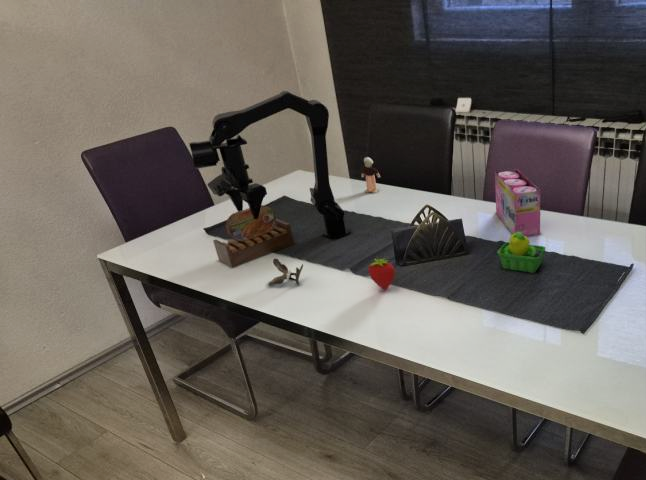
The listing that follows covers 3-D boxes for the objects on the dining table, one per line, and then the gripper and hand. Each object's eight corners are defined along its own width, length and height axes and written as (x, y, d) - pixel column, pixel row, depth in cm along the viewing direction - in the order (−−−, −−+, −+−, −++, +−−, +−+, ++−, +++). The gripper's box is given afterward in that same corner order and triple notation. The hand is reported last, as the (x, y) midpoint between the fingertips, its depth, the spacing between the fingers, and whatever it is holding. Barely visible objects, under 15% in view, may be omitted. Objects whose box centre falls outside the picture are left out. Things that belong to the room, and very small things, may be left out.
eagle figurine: (307, 271, 165) (276, 265, 166) (300, 258, 158) (268, 251, 159) (298, 295, 162) (266, 289, 163) (290, 283, 155) (258, 276, 156)
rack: (294, 243, 185) (289, 223, 182) (232, 267, 173) (225, 247, 170) (280, 237, 190) (275, 218, 187) (219, 260, 178) (212, 240, 175)
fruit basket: (546, 263, 162) (547, 224, 155) (535, 278, 155) (536, 237, 149) (506, 258, 166) (506, 219, 160) (495, 272, 159) (493, 232, 153)
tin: (234, 245, 174) (226, 217, 170) (229, 242, 176) (221, 215, 171) (279, 229, 183) (272, 202, 178) (274, 226, 185) (267, 200, 180)
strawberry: (386, 298, 151) (381, 262, 146) (366, 291, 155) (360, 255, 150) (402, 289, 155) (398, 253, 149) (382, 282, 159) (377, 247, 153)
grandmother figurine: (361, 193, 221) (355, 159, 215) (364, 190, 225) (359, 155, 218) (381, 193, 220) (376, 158, 213) (384, 189, 223) (379, 155, 216)
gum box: (494, 211, 197) (492, 170, 190) (517, 208, 198) (516, 167, 191) (515, 238, 177) (514, 193, 170) (541, 234, 178) (541, 190, 171)
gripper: (191, 164, 168) (208, 217, 177) (223, 175, 157) (239, 231, 165) (228, 154, 175) (242, 206, 183) (260, 164, 163) (274, 219, 172)
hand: (248, 215), depth 176 cm, fingers open, 9 cm apart
